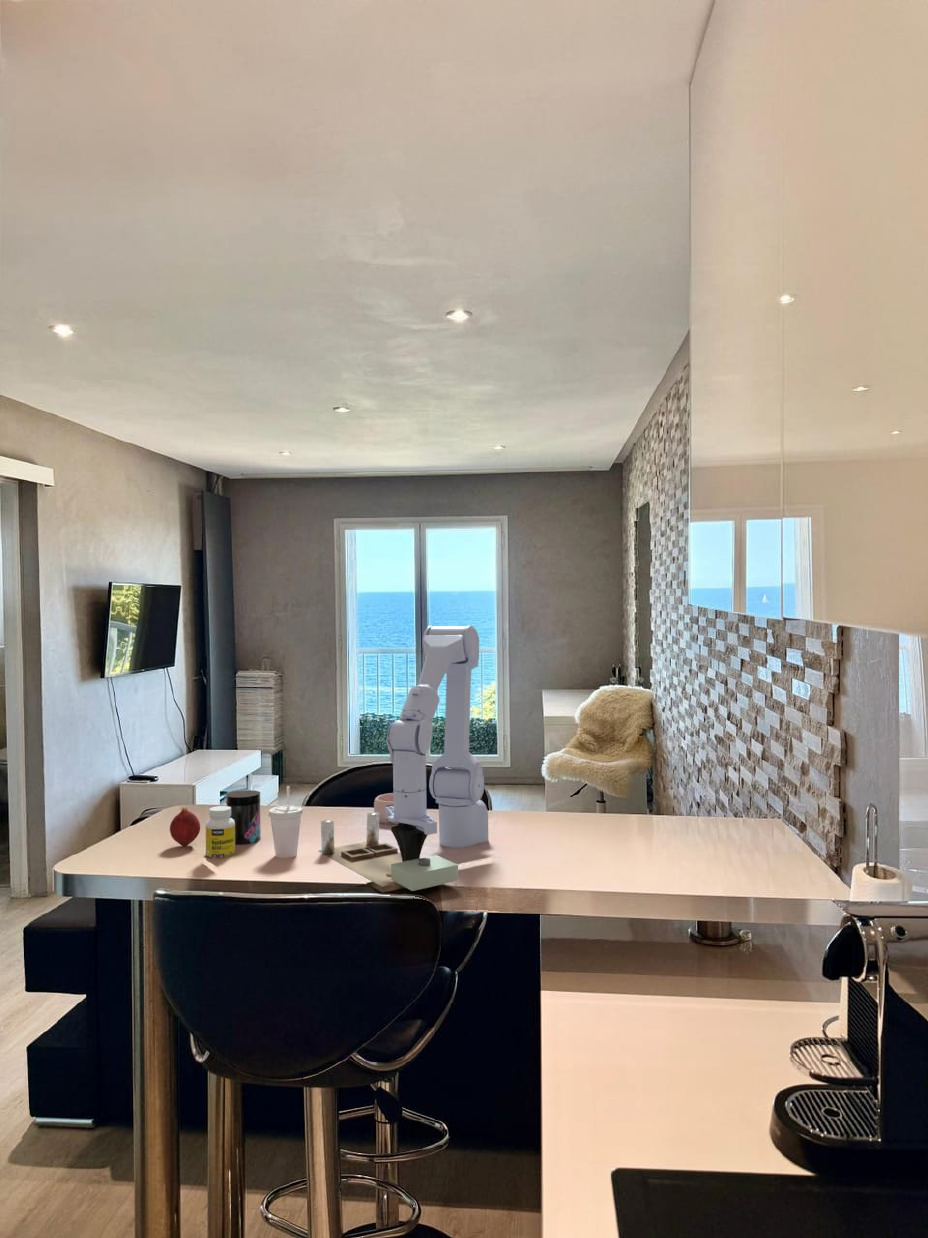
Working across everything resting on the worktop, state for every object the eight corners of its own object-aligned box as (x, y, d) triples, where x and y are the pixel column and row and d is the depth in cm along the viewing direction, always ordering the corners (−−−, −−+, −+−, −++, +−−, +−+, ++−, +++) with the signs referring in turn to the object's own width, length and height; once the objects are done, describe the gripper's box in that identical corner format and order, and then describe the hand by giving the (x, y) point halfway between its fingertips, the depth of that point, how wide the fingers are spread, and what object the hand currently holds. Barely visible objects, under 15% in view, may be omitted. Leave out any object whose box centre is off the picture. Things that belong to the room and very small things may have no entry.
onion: (205, 846, 170) (205, 806, 169) (179, 852, 165) (178, 811, 165) (191, 840, 174) (190, 802, 173) (164, 846, 169) (164, 807, 169)
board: (373, 845, 169) (373, 836, 169) (443, 879, 147) (442, 869, 147) (317, 855, 162) (317, 846, 162) (382, 892, 140) (382, 882, 140)
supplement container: (240, 851, 165) (239, 799, 165) (219, 846, 170) (219, 794, 169) (267, 844, 171) (267, 793, 170) (247, 838, 175) (246, 788, 175)
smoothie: (295, 866, 156) (294, 790, 155) (263, 864, 157) (262, 789, 157) (308, 856, 162) (307, 783, 162) (277, 854, 163) (276, 782, 163)
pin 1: (331, 850, 162) (330, 819, 162) (336, 853, 160) (335, 821, 160) (319, 852, 161) (318, 821, 161) (324, 855, 159) (323, 823, 159)
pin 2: (374, 842, 167) (375, 812, 167) (380, 844, 165) (381, 814, 166) (363, 843, 166) (364, 813, 166) (370, 846, 164) (371, 815, 164)
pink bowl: (414, 830, 180) (414, 803, 180) (369, 829, 181) (369, 802, 181) (424, 816, 192) (424, 790, 192) (382, 815, 193) (381, 790, 193)
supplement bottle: (208, 865, 157) (208, 813, 157) (203, 857, 162) (202, 807, 161) (238, 861, 159) (237, 809, 159) (232, 853, 164) (231, 803, 164)
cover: (436, 870, 148) (435, 850, 148) (458, 880, 142) (458, 860, 142) (391, 880, 143) (391, 859, 143) (412, 891, 137) (412, 869, 137)
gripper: (369, 785, 150) (370, 861, 150) (411, 799, 138) (412, 882, 138) (404, 780, 154) (405, 854, 154) (447, 794, 142) (448, 874, 142)
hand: (410, 867), depth 146 cm, fingers closed
